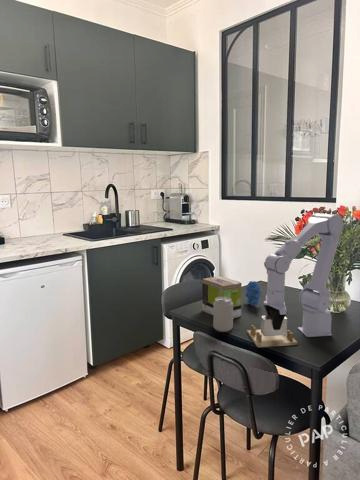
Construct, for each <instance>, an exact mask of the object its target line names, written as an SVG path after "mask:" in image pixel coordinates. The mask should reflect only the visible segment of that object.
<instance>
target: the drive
mask: <svg viewBox="0 0 360 480" xmlns="http://www.w3.org/2000/svg"><path fill="white" fill-rule="evenodd" d="M260 317H261V318H260V330H261V333H262V334H263V336H279V335H287V330H288V317H286V316H285V317H284V319H283V322H282V325H281V328H280V330H274V328H273V321H272V316H271V315H270V316H267V315H261V316H260Z"/></svg>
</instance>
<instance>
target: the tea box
mask: <svg viewBox="0 0 360 480" xmlns="http://www.w3.org/2000/svg"><path fill="white" fill-rule="evenodd" d="M217 297H228V298H231V301H232V302H233V319H236V318H240V317H241V316H242V282H240V281H237V280H233V279H231V278H228V277H224V276H222V275H218V276H211V277H206V278H202V311H203V312H205V313H207V314H209V315H211V316H213V302H214V301H215V298H217Z"/></svg>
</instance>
